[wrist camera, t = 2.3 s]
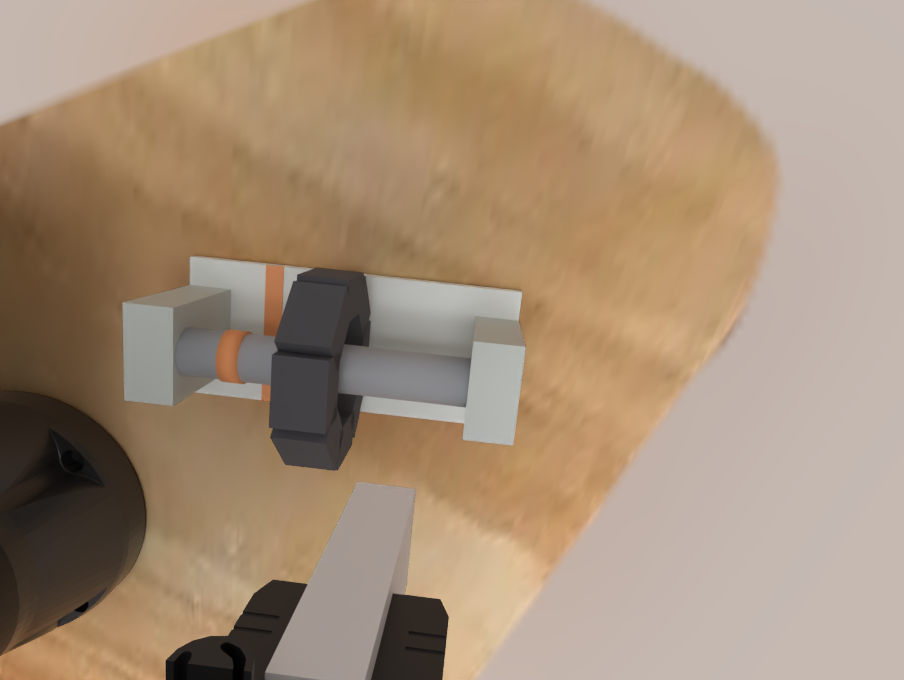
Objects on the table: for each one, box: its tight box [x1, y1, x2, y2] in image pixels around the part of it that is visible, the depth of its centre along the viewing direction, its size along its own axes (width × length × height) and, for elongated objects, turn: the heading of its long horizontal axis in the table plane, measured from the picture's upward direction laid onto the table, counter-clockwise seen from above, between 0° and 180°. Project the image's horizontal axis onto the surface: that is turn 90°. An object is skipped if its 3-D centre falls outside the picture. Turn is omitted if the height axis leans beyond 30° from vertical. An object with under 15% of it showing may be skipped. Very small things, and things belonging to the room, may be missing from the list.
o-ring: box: [269, 268, 371, 470], centre depth 30 cm, size 2×9×9 cm, turn 174°
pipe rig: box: [123, 256, 526, 445], centre depth 32 cm, size 19×8×7 cm, turn 84°
